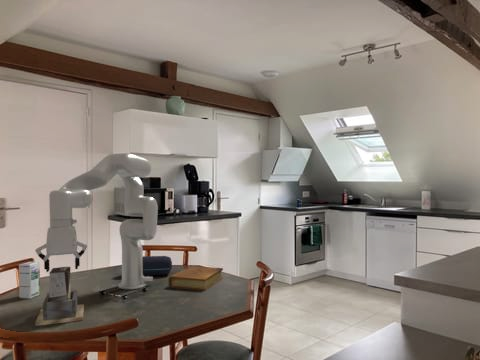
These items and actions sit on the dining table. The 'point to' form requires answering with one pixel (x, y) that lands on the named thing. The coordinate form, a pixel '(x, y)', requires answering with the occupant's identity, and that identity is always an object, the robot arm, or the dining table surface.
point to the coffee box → (60, 284)
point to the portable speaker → (156, 265)
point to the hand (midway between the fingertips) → (62, 269)
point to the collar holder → (60, 310)
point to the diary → (196, 278)
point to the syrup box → (29, 280)
